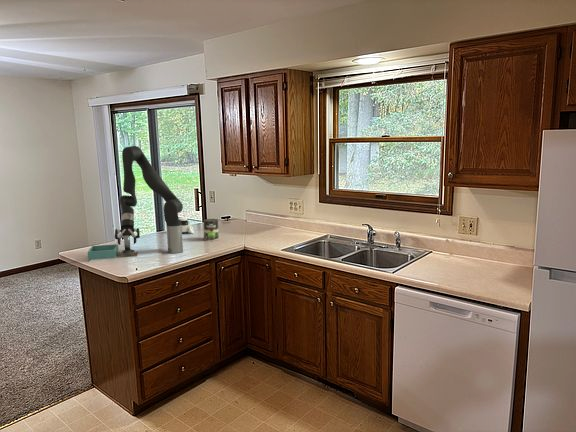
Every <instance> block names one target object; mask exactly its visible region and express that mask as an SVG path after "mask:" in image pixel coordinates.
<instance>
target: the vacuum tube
mask: <svg viewBox="0 0 576 432" xmlns="http://www.w3.org/2000/svg"><path fill="white" fill-rule="evenodd" d="M130 237H131V236H129V235H124V237H123V243H124V249H123V250H124V253H129V252H132V250H133V249H131V240H130Z"/></svg>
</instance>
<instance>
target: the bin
mask: <svg viewBox="0 0 576 432" xmlns="http://www.w3.org/2000/svg"><path fill="white" fill-rule="evenodd" d="M119 253H120V252H119V244H118V243H117V244H114V243H113V244H102V245H101V244H99V245H92V246H91V247H90V248H89V250H88V251H87V260H88V261H90V262H91V261H93V260H105V259H116V258H117V257H118V255H119Z"/></svg>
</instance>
